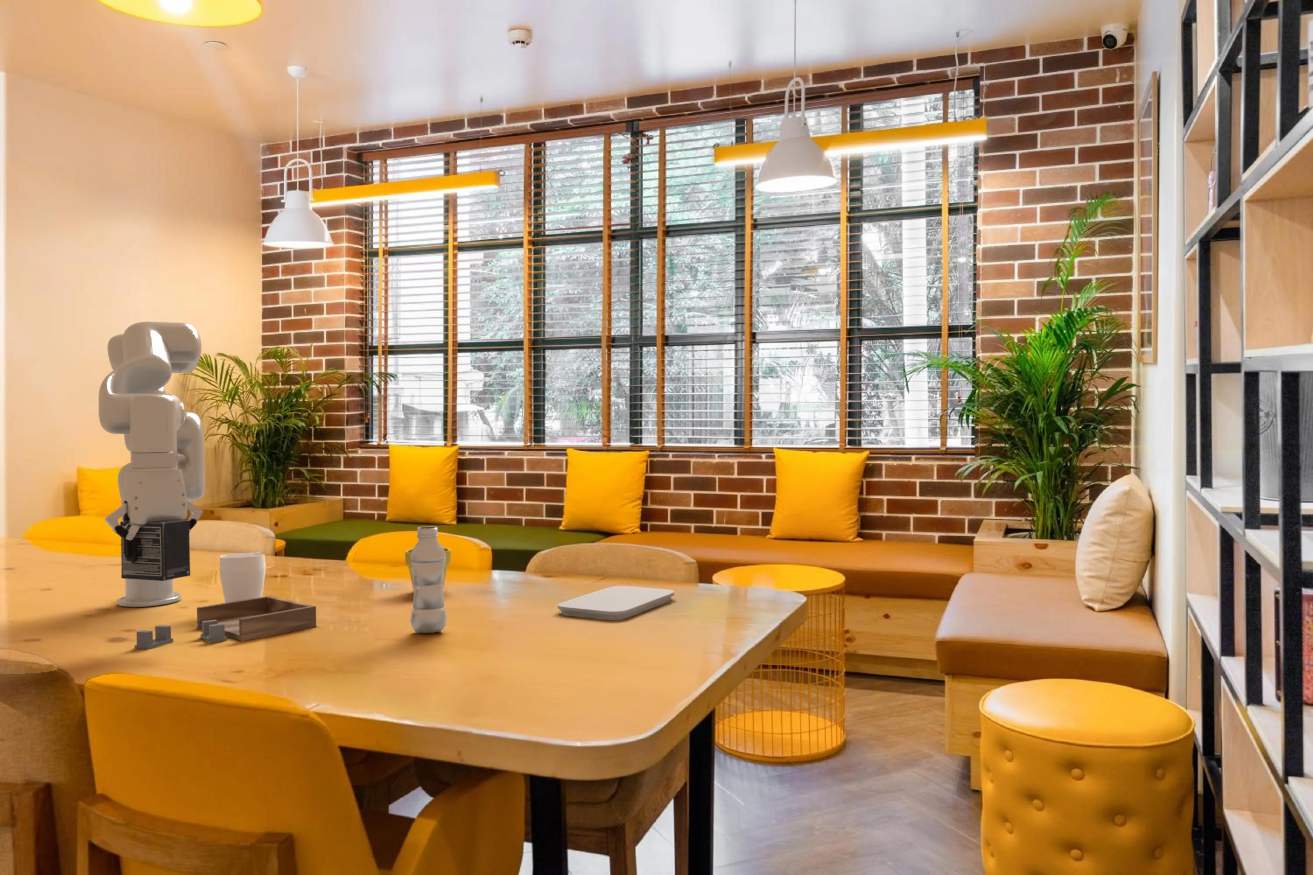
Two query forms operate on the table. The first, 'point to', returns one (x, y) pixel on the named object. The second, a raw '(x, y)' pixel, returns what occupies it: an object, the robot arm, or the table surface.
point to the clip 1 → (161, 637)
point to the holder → (259, 617)
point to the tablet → (615, 602)
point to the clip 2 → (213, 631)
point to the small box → (159, 551)
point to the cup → (242, 575)
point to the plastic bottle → (428, 582)
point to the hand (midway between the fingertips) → (156, 557)
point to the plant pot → (408, 563)
